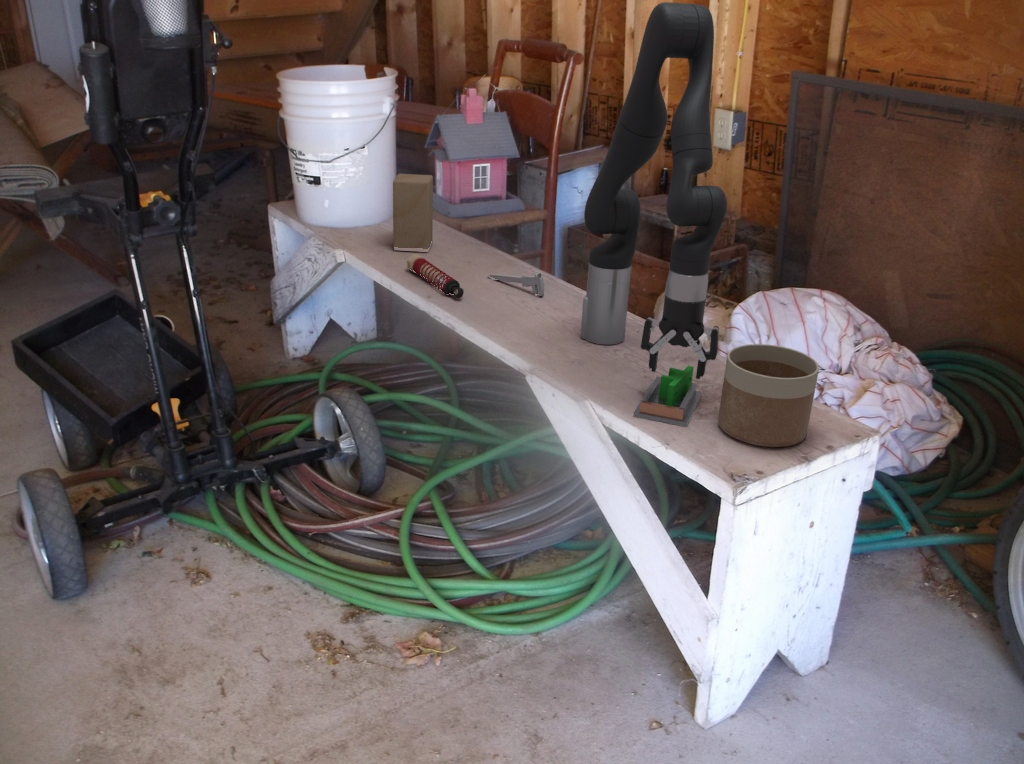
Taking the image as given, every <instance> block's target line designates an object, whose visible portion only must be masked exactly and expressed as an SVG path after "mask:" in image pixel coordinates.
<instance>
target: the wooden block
mask: <svg viewBox="0 0 1024 764" xmlns="http://www.w3.org/2000/svg"><path fill="white" fill-rule="evenodd" d="M433 212H434V177H433V175H432V174H413V173H397V175H396V176H395V178H394V180H393V181H392V218H393V219H392V225H393V227H392V229H393V231H392V235H393V238H392V240H393V242H392V243H393V247H398V248H423V249H428V248H429V247H430V244H431V241H432V242H433V236H434V235H433V229H434V228H433V226H434V225H433V220H434V219H433V218H434V217H433V215H434V214H433ZM430 248H431V247H430Z"/></svg>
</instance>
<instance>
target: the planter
mask: <svg viewBox="0 0 1024 764" xmlns="http://www.w3.org/2000/svg"><path fill="white" fill-rule="evenodd" d="M725 361H726V362H725V366H724V367H725V369H724V375H723V382H722V389H721V396H720V404H719V410H718V414H717V415H718V416H717V417H718V418H717V423H718V425H719V427H720V429H722V431H724V432H725V433H726V434H727V435H728V436H730V437H732V438H734V439H736V440H738V441H741V442H743V443H747V444H750V445H754V446H760V447H767V448H768V447H769V448H781V447H782V448H784V447H790V446H794V445H797V444H799V443H801V442H802V441H803V440H805V439H806V437H807V434H808V429H809V424H810V419H811V413H812V408H813V403H814V398H815V393H816V387H817V382H818V378H819V377H818V376H819V372H820V365H819V362H817V361H816V360H815V359H814V358H813V357H811V356H810V355H809V354H806V353H803V351H799V350H797V349H794V348H790V347H785V346H781V345H775V344H768V343H767V344H765V343H764V344H763V343H753V344H744V345H739V346H735V347H733V348H732V349H730V350H729V351H728V352H727V355H726V360H725Z"/></svg>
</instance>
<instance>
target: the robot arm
mask: <svg viewBox="0 0 1024 764" xmlns="http://www.w3.org/2000/svg"><path fill="white" fill-rule="evenodd" d="M714 27H715V25H714V19H713V14H712V13H711V10H710V9H709V8H708V7H707V6H706V5H703V4H697V3H688V2H687V3H686V2H684V3H683V2H659V3H658V4H656V5H655V7H653V9H652V10H651V12H650V14H649V17H648V19H647V22H646V25H645V29H644V32H643V36H642V40H641V43H640V48H639V52H638V57H637V61H636V64H635V65H636V66H635V69H634V74H633V77H632V79H631V83H630V86H629V89H628V90H627V91H628V92H627V94H626V98H625V101H624V104H623V105H622V108H621V111H620V113H619V117H618V119H617V122H616V124H615V128H614V131H613V134H612V138H611V141H610V145H609V147H608V150H607V153H606V155H605V158H604V161H603V164H602V166H601V168H600V170H599V172H598V174H597V177H596V178H595V181H594V183H593V185H592V187H591V189H590V191H589V195H588V197H587V200H586V202H585V206H584V217H583V218H584V223H585V224H584V225H585V227H586V229H587V230H588V231H589V232H590V233H592V234H595V235H610V234H611V235H610V236H609V237H608V238H607V239H605V241H603V242H601V243H600V244H598V245H595V246H593V248H591V250H590V251H589V255H588V258H589V260H588V270H587V282H586V283H587V286H586V295H585V296H584V297H583V301H582V310H581V311H582V313H581V314H582V315H581V325H580V326H581V327H580V338H579V339H584V340H586V341H588V342H590V343H593V344H598V345H608V346H609V345H610V346H611V345H617V344H620V343H622V342H624V340H625V337H626V336H625V335H626V327H627V326H626V325H627V315H628V306H629V305H628V304H629V293H630V286H631V285H630V283H631V273H632V263H633V262H632V261H633V259H634V256H635V252H636V247H637V239H638V234H639V227H640V221H641V202H640V198H639V196H638V194H637V192H635V190H633V189H630V188H622V187H623V186H624V184H626V182H627V181H628V180H629V179H630V178H631V177H632V176H633V175H634V174H636V172H638V171H639V170H640V169H641V168H642V167H644V166H645V165H646V164H647V162H649V161H650V159H651V158H652V157H653V156H654V155H655V153H656V152H657V150H658V148H659V146H660V144H661V142H662V138H663V137H664V136H663V135H664V133H665V130H666V127H667V126H668V125H667V124H668V110H667V106H666V105H667V104H666V102H665V99H664V96H663V93H662V90H661V85H660V84H661V83H660V76H661V72H662V68H663V65H664V63H665V61H666V59H686V60H687V62H688V69H689V72H688V73H689V75H688V81H687V85H686V88H685V90H684V93H683V95H682V97H681V99H680V101H679V103H678V105H677V107H676V110H675V112H674V114H673V117H672V120H671V125H670V143H671V155H672V170H671V177H670V184H669V190H668V193H667V198H666V205H665V207H666V208H665V211H666V214H667V216H668V218H669V220H670V222H671V223H672V224H673V225H675V226H677V227H695V229H694V230H693V231H692V232H691V233H689V234H686V235H683V236H681V237H678V238H676V239H675V240H673V242H672V245H671V253H670V259H669V260H670V261H669V270H668V275H667V278H666V282H665V284H666V285H665V288H664V300H663V310H662V317H661V319H660V320H659V319H654V318H653V317H652V316H648V317H646V319H645V321H644V325H643V330H642V334H641V335H642V337H641V340H640V341H641V342H640V349H641V350H645V351H648V353H649V359H648V368H649V369H651V371H650V372H651V373H652V372H653V373H656V371H657V369H658V361H659V350H660V349H662V348H663V347H664V346H665V345H666V344H667V343H668V344H670V346H679V347H682V348H688V347H690V348H691V350H692V351H693V353H695V354H696V356H697V358H698V360H697V367H696V373H695V374H696V375H695V380H696V379H697V380H700V378H701V377H704V375H705V374H706V373H705V372H706V366H707V361H715V360H716V359H717V356H718V351H719V336H720V327H719V326H718V325H715V326H713V327H710V326H705V325H704V317H705V309H706V300H707V294H708V293H707V292H708V286H709V270H710V269H709V267H710V260H711V252H712V249H713V247H714V244H715V242H716V240H717V237H718V234H719V232H720V230H721V228H722V225H723V223H724V221H725V218H726V215H727V209H728V200H727V195H726V194H725V192H724V190H723V189H722V188H721V187H718V186H717V185H691V180H692V177H693V176H696V175H700V174H704V173H706V172H708V171H710V169H712V167H713V163H714V159H713V157H714V155H713V145H712V144H713V143H712V133H711V117H710V116H711V114H710V113H711V112H710V111H711V110H710V107H711V106H710V105H711V91H712V90H711V89H712V78H713V63H714V62H713V60H714V47H715V46H714V44H715V43H714V42H715V28H714ZM657 327H658V328H659V330H660V332H661V333H662V334H661V335H660V337H658V338H657V340H656V341H654V343H652V342H650V340H651V333H652V331H655V329H656V328H657ZM704 334H705V335H706V338H707V339H708V340H710V343H709V344H710V346H709V350H708V351H706V348H704V346H703V342H702V341H701V340H700V338H701V337H702V336H703V335H704Z"/></svg>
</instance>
